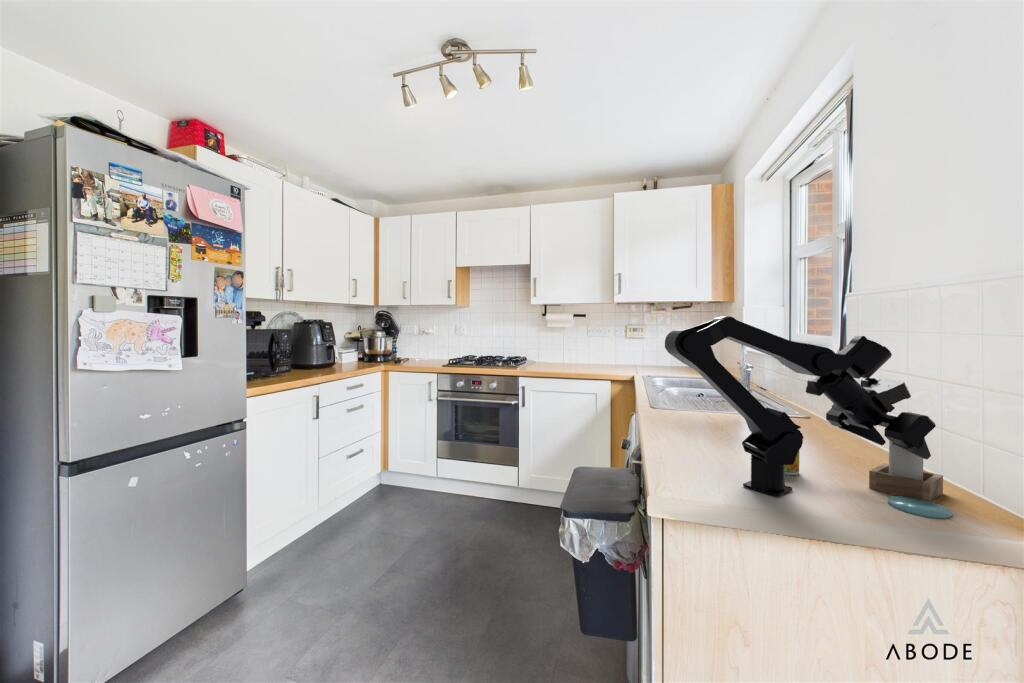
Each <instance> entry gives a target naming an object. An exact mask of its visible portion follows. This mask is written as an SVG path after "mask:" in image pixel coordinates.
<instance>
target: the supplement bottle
mask: <svg viewBox="0 0 1024 683" xmlns="http://www.w3.org/2000/svg"><path fill="white" fill-rule="evenodd" d="M799 473H800V450H799V451H798V453H797V456H796V459H795V461H794V464H793V465H785V475H786V476H796V475H799Z"/></svg>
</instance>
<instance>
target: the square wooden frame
mask: <svg viewBox="0 0 1024 683" xmlns="http://www.w3.org/2000/svg"><path fill="white" fill-rule="evenodd" d="M868 472H869V473H868V474H869V477H868V483H869V484H868V487H869V489H873V490H877V491H880V492H884V493H888V494H890V495H891V494H892V495H894V496H904V497H912V498H918V499H922V500H926V501H930V502H933V501H934V500H936V499H937V498H938V496H939V497H940V496H941V495H943V493H944V475H943V474H939V473H934V472H930V471H924V470H923V481H920V480H915V479H911V478H906V477H902V476H897V475H893V474H889V463H882V464H880V465H878V466H875V467H874V468H872V469H870V470H868Z"/></svg>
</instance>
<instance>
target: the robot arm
mask: <svg viewBox="0 0 1024 683" xmlns="http://www.w3.org/2000/svg"><path fill="white" fill-rule="evenodd" d="M724 339H727V340H729V341H732V342H734V343H737V344H739V345H742V346H744V347H747V348H749V349H751V350H755V351H758V352H760V353H762V354H765V355H767V356H770V357H772V358H774V359H776V360H777V361H778V362H779V363H781V365H783V366H784V367H786V368H788V369H789V370H791V371H793V372H795V374H800V375H807V376H813V377H814V376H815V379H813V380H807V381H806V384H807V385H806V388H805V392H806V393H805V394H809V395H812V396H813V395H814V396H817V397H820V396H822V395H824V396H825V397H826V398H827V399H828V400H829V401H831V403H833V404H832V405H831V408H830V409H829V410H828V411H826V413H825V420H826V421H827V422H828V423H830V425H832V426H834V427H837V428H839V429H841V430H844V431H846V432H848V433H851V434H853V435H855V436H858V437H860V438H862V439H866V440H868V441H870V442H872V443H874V444H877V445H879V446H884V445H885V444H886V443H887V441H886V439H887V440H888V441H889V440H890V441H892V442H893V443H892V444H894V445H896V446H898V447H900V448H902V449H904V450H907V451H909V452H911V453H913V454H915V455H917V456H919V457H922V458H923V460H929V459H930V457H932V454H931V452H930V448H929V446H928V444H927V440H926V438H925V437H927V435H929V434H930V433H931V432H932V431H933V430H934V429H935V428H936V427H937V425H936V422H935V421H933V419H931V418H930V417H929V416H928V415H925V414H919V413H914V412H911V411H910V412H909V411H908V412H907V411H902V412H900V413H899V414H898V415H897V416H896V415H895V416H894V415H891V414H888V413H891V412H892V411H893V410H895V408H896V407H895V406H893V405H895V404H897V403H899V402H901V401H903V400H908V399H910V398H911V397H912V395H911V393H910V391H909V389H908V387H907V385H906V383H905V381H904V380H898V379H890V378H889V379H888V378H886V379H880V378H879V379H876V378H874V377H872V376H873V375H874V374H875V373H876V372H877V371H878V370H879V369H880V368H882V366H883V365H884V364H885V363H887V362H888V360H890V359H891V358H892V356H893V354H892V352H891V351H890V349H888V347H886V346H884V345H882V344H880V343H878V342H876V341H874V340H871V339H868V338H867V337H866V336H865V335H854V336H853V338H852V339H851V340H850V341H849V342H848V343H847V345H846V346H844V347H843V349H841V350H840V351H839V352H838V353H837V352H835V351H834V350H833V349H831V348H829V347H828V346H827V347H826V346H821V345H816V344H811V343H805V342H798V341H795V340H794V341H793V340H789V339H787V338H784V337H781V336H779V335H776V334H773V333H771V332H768V331H766V330H764V329H761V328H758V327H756V326H754V325H750V324H747V323H746V322H742V321H740V320H737V319H736V318H735V317H733V316H730V315H729V316H717V317H714V318H713V319H711V320H709V321H706V322H703V323H701V324H698V325H695V326H692V327H690V328H685V329H684V328H682V329H681V328H680V329H676V328H675V329H673V330H671V331H670V332H669V333H668V334H667V335H666V336H665V339H664V348H665V350H666V351H667V353H668V354H669V355H671V356H672V357H673V358H674V359H676V360H678V361H680V362H681V363H683V364H685V366H688V367H689V368H691V369H693V370H694V371H695V372H697V373H698V374H699V375H700V376H701V377H702V378H703V379H704V380H705V381H706V382H707V383H708V384H709V385H710V386H711V387H712V388H713V389H714V390H715V391H717V393H718V394H719V395H720V396H721V397H722V398H723V399H724V400H726V402H727V403H729V405H730V406H732V407H733V408H734V410H735V411H736V412H737V413H738V414H739V415H740V416H742V418H743V419H744V420H745V422H746V425H747V428H748V431H750V434H749V435H748V436H747V437H746V438H745V439H744V440H742V442H741V445H742V448H743V450H744V452H745V453H748V454H750V455H751V456H750V480H749V481H746V482H743V483H742V486H743V487H744V488H749V489H751V490H754V491H757V492H760V493H764V494H766V495H770V496H773V497H780V496H783V495H785V494H788V493H789V492H791V491H793V487H792V486H789V485H786V481H785V480H786V478H785V477H786V476H785V465H793V464H794V461H795V459H796V456H797V453H798V451H799V452H800V449H801V448H802V445H803V443H804V434H803V433H802V431H801V430H800V429H801V425H798V424H797V423H795V422H794V421H793V420H792V419H791V417H790V416H789V415H788V414H787V413H786V412H785V411H782V410H778V409H776V408H772V407H769V406H766V407H765V406H764V405H763V404H762V403H761V402H760V401H759V400H758V399H757V398H756V397H754V395H753V394H752V393H751V392H750V391H749V390H747V388H746V387H745V386H744V385H743V384H742V383H741V382H740V381H739V380H738V379H737V378H736V377H735V376H733V374H732V373H731V372H730V371H729V370H728V369H727V368H726V367H725V366H724V365H723V364H722V363H720V361H719V360H718V359H717V358H716V355H715V353H714V351H713V348H712V346H713V345H716V344H718V343H719V342H721V341H722V340H724ZM861 378H862V379H861ZM856 379H857V380H859V379H860V383H859V381H857V380H856ZM877 426H879V427H883V428H884V437H885V438H886V439H885V438H884V437H883V436H882V435H881V433H880V432H879V431H878V430H877V428H876V427H877Z"/></svg>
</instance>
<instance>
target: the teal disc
mask: <svg viewBox="0 0 1024 683" xmlns="http://www.w3.org/2000/svg"><path fill="white" fill-rule="evenodd" d="M887 503H888V504H889V505H890V506H891V507H894V509H897V510H899V511H902V512H905V513H908V514H912V515H916V516H920V517H926V518H932V519H941V518H945V519H950V517H951V518H952V517H953V511H952V510H951V509H949V508H948V507H946V506H944V505H942V504H939V503H936V502H933V501H932V502H930V501H926V500H922V499H918V498H912V497H904V496H899V495H893V496H889V497H887Z"/></svg>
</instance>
